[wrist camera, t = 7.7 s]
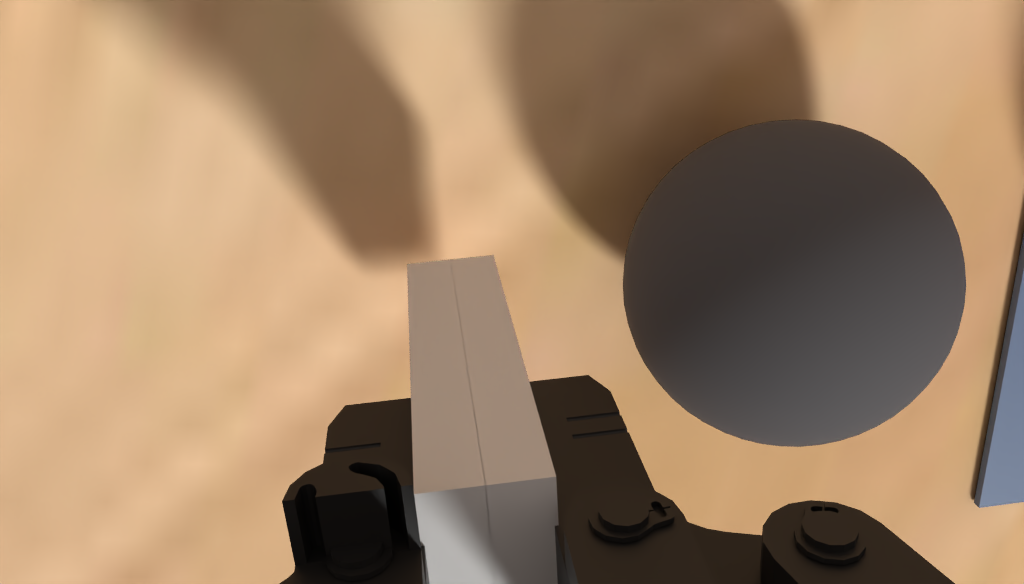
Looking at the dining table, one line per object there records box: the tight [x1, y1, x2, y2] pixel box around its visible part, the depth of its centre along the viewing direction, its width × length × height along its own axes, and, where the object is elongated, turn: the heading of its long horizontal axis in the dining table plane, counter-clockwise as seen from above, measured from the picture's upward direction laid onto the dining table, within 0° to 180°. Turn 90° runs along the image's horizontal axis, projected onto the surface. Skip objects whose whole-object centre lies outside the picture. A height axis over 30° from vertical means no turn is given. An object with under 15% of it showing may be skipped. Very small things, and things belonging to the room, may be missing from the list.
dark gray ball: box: [623, 120, 966, 447], centre depth 15 cm, size 6×6×6 cm
